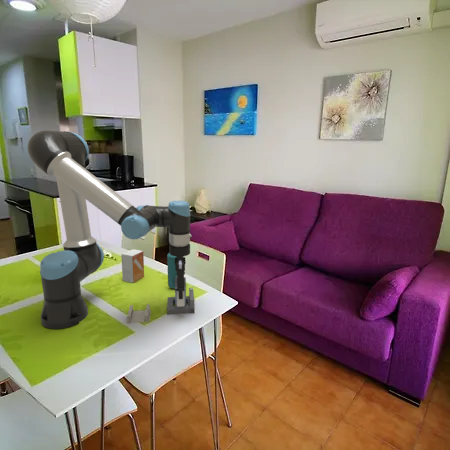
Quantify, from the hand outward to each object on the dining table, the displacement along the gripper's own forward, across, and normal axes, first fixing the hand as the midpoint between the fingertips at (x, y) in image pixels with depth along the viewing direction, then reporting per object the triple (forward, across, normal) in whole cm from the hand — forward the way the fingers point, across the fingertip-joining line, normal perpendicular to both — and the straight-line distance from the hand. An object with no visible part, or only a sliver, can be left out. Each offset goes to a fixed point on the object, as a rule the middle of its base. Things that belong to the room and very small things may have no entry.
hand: (180, 298), depth 122 cm
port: (+4, 0, 0) cm, 4 cm away
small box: (+5, +30, +21) cm, 37 cm away
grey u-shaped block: (+4, -5, +15) cm, 16 cm away
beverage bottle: (+5, +18, +2) cm, 19 cm away
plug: (+4, 0, 0) cm, 4 cm away
